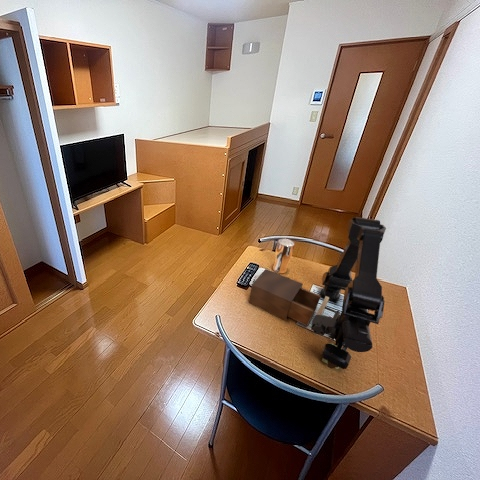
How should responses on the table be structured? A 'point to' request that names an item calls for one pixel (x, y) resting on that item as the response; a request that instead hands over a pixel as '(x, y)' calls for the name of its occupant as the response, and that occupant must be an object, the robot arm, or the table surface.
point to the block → (326, 360)
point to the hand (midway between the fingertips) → (333, 357)
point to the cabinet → (274, 293)
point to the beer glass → (283, 255)
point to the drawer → (307, 306)
